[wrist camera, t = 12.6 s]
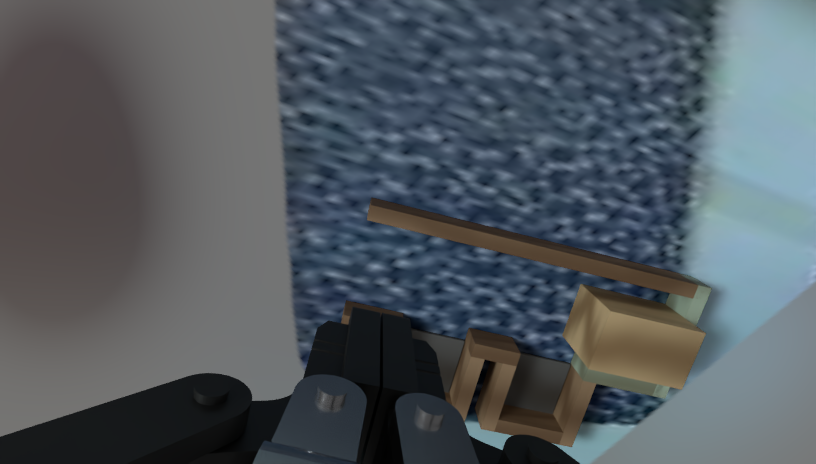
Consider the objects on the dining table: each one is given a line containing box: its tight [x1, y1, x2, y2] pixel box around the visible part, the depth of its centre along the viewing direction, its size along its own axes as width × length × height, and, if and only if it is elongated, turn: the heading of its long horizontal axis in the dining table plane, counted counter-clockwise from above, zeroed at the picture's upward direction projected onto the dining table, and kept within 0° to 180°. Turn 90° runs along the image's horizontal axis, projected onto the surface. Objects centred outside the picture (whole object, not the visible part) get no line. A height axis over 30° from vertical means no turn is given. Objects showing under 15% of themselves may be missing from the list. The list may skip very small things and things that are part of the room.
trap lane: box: [341, 198, 712, 447], centre depth 43 cm, size 17×29×3 cm, turn 75°
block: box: [563, 284, 706, 390], centre depth 42 cm, size 5×8×6 cm, turn 75°
